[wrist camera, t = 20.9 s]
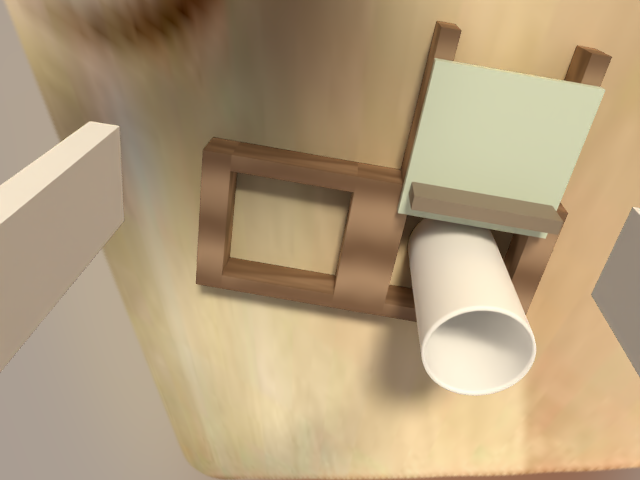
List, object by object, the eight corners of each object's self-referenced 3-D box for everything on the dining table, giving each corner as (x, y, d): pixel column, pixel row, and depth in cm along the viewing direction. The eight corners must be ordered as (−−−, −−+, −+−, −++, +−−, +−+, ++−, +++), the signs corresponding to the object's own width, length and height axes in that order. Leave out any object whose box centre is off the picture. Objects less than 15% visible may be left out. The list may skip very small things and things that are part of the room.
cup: (510, 247, 54) (560, 356, 40) (445, 295, 57) (469, 412, 43) (455, 192, 52) (487, 287, 38) (390, 245, 55) (398, 351, 41)
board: (222, -17, 45) (211, -14, 42) (613, 51, 45) (631, 60, 42) (205, 265, 58) (195, 283, 55) (508, 317, 58) (515, 338, 55)
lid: (434, 57, 43) (440, 68, 39) (601, 87, 43) (621, 100, 39) (397, 208, 49) (399, 229, 46) (542, 233, 49) (555, 255, 46)
